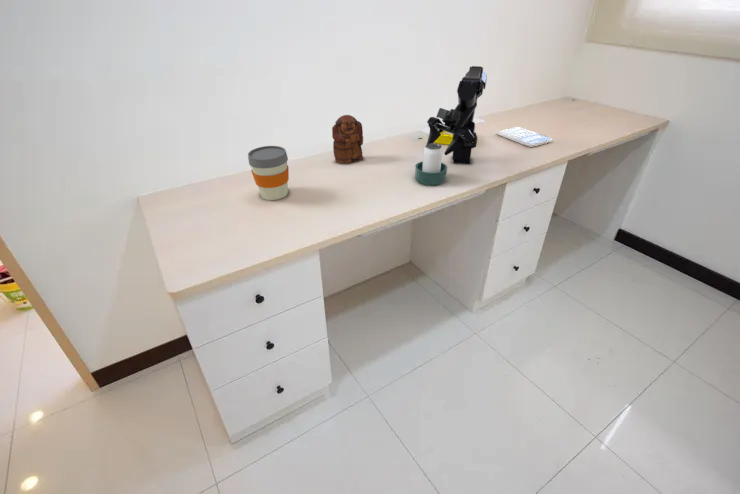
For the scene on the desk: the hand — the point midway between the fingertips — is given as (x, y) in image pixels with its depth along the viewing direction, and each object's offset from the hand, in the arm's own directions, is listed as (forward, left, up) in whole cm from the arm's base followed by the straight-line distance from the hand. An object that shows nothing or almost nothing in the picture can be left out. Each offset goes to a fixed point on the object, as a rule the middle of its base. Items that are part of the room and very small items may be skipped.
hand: (435, 150), depth 131 cm
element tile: (-8, -42, -11) cm, 44 cm away
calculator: (-40, -47, -11) cm, 62 cm away
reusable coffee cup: (+54, +19, -11) cm, 58 cm away
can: (+1, +1, -10) cm, 10 cm away
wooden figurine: (+34, -13, -11) cm, 38 cm away
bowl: (+1, +1, -11) cm, 11 cm away
